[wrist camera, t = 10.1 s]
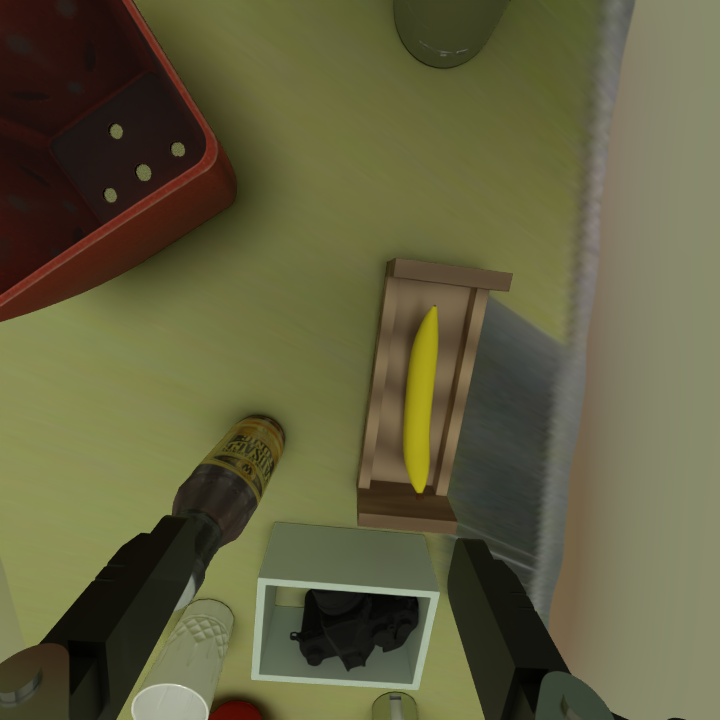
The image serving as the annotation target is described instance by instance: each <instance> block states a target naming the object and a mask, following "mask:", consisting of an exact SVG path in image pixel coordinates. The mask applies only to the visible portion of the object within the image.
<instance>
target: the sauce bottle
mask: <svg viewBox="0 0 720 720" xmlns="http://www.w3.org/2000/svg"><path fill="white" fill-rule="evenodd" d="M284 442H285V439H284V435H283V433H282V430H281V429H280V426H279V425H277V423H276V422H275V421H273V420H271V419H269V418H266V417H262V416H258V415H257V416H252V417H248V418H246V419H244V420H242V421H240V422H239V423H237V424H236V425H235V426H234V427H233V428H232V429H231V430H230V431H229V432H228V433H227V434H226V435H225V437H224V438H223V439H222V440H221V441H220V442H219V443H218V444H217V445H216V447H215V448H214V449H213V450H212V451H211V452H210V453H209V454H208V455H207V456H206V457H205V458H204V460H203V461H202V462H201V463H200V464H199V465H198V466H197V467H196V468H195V470H194V471H193V473H192V475H191V476H190V477H189V478H188V479H187V480H186V481H185V482H184V483H183V484H182V485H181V486H180V487H179V489H178V492H177V494H176V496H175V499H174V502H173V507H172V515H174V516H187V517H193V518H194V535H195V560H194V567H193V571H192V574H191V577H190V580H189V582H188V584H187V586H186V588H185V590H184V592H183V594H182V596H181V598H180V600H179V602H178V603H177V605H176V607H175V609H174V611H177V610H179V609H182V608H183V607H185V606H186V605H187V604H189V603H190V602H191V601H192V599H193V598H194V596H195V595H196V593H197V592H198V590H199V588H200V587H201V585H202V583H203V581H204V579H205V571H206V569H207V567H208V565H209V563H210V561H211V560H212V558H213V556H214V554H216V552H217V551H218V549H219V548H220V547H222V546H224V545H226V544H228V543H229V542H231V541H234V540H236V539H237V538H238V537H239V535H240V534H241V533H242V531H243V529H244V528H245V526H246V524H247V523H248V521H249V519H250V518H251V516H252V514H253V513H254V511H255V510H256V508H257V506H258V504H259V502H260V500H261V498H262V496H263V494H264V492H265V490H266V488H267V486H268V484H269V481H270V479H271V477H272V475H273V473H274V471H275V469H276V467H277V464H278V462H279V460H280V458H281V456H282V453H283V447H284Z"/></svg>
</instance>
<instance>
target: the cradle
mask: <svg viewBox="0 0 720 720" xmlns="http://www.w3.org/2000/svg"><path fill="white" fill-rule="evenodd" d="M512 276H513V273H505V272H498V271H490V270H483V269H475V268H468V267H460V266H453V265H445V264H438V263H430V262H423V261H415V260H408V259H400V258H395V259H393V260H391V261H388V262H387V268H386V275H385V282H384V289H383V297H382V304H381V311H380V318H379V326H378V333H377V340H376V347H375V354H374V362H373V369H372V376H371V383H370V391H369V398H368V405H367V412H366V419H365V427H364V434H363V441H362V448H361V455H360V463H359V470H358V477H357V484H356V487H357V521H358V526H364V527H375V528H387V529H398V530H409V531H421V532H432V533H443V534H455V532H456V528H457V523H458V521H457V519H456V517H455V515H454V512H453V510H452V508H451V505H450V503H449V501H448V499H447V496H446V495H447V490H448V486H449V481H450V476H451V471H452V466H453V462H454V457H455V452H456V447H457V443H458V438H459V433H460V428H461V423H462V419H463V414H464V409H465V404H466V400H467V395H468V390H469V385H470V380H471V376H472V371H473V366H474V361H475V356H476V352H477V347H478V342H479V337H480V333H481V328H482V323H483V318H484V313H485V309H486V304H487V299H488V294H489V290H497V291H509V289H510V285H511V280H512ZM434 305H436V306H437V312H438V356H437V366H436V375H435V383H434V391H433V400H432V410H431V423H430V466H429V475H428V479H427V483H426V486H425V488H424V490H423V493H422V494H423V497H424V500H422V501H418V500H416V495H417V492H416V491H415V489H414V487H413V485H412V484H411V482H410V479H409V476H408V473H407V470H406V466H405V461H404V453H403V426H404V410H405V397H406V386H407V377H408V369H409V362H410V356H411V350H412V347H413V343H414V340H415V337H416V334H417V332H418V330H419V328H420V325H421V323H422V321H423V319H424V317H425V315H426V314H427V313H428V312H429V310H430V309H431V307H432V306H434Z"/></svg>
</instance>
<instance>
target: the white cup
mask: <svg viewBox="0 0 720 720" xmlns="http://www.w3.org/2000/svg"><path fill="white" fill-rule="evenodd" d="M233 623H234V617H233V615H232V613H231V611H230V609H229V608H228V607H226V606H225V605H224V604H222V603H221V602H218V601H215V600H211V599H206V600H198V601H196V602H194V603H192V604H190V605H188V607H187V608H186V610H185V611H184V613H183V614H182V616H181V618H180V619H179V621H178V623H177V625H176V627H175V628H174V629H173V630H172V632H171V634H170V636H169V638H168V639H167V641H166V642H165V644H164V646H163V647H162V649H161V651H160V653H159V655H158V656H157V658H156V660H155V662H154V664H153V665H152V667H151V669H150V671H149V673H148V675H147V676H146V678H145V680H144V682H143V684H142V685H141V687H140V689H139V691H138V692H137V694H136V696H135V698H134V700H133V702H132V706H131V712H132V716H133V719H134V720H208V717H209V713H210V710H211V706H212V703H213V699H214V696H215V692H216V689H217V685H218V682H219V678H220V675H221V672H222V668H223V664H224V660H225V656H226V653H227V649H228V644H229V640H230V636H231V633H232V630H233Z"/></svg>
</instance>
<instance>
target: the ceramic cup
mask: <svg viewBox="0 0 720 720" xmlns="http://www.w3.org/2000/svg"><path fill="white" fill-rule="evenodd" d="M208 720H262V718H261V715H260V713H259V711H258V710H257V709H256V708H255V707H254V706H253V705H251V704H249V703H246V702H242V701H232V702H228V703H225V704H223V705H221V706H220V707H219V708H218V709H217V710H216V711H215V712H213V713H212V714H211V715H210V716H209V717H208Z"/></svg>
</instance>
